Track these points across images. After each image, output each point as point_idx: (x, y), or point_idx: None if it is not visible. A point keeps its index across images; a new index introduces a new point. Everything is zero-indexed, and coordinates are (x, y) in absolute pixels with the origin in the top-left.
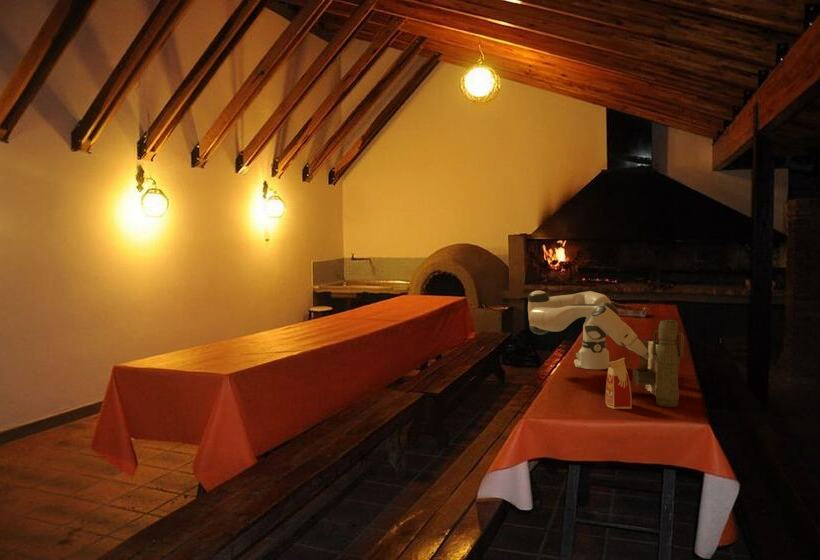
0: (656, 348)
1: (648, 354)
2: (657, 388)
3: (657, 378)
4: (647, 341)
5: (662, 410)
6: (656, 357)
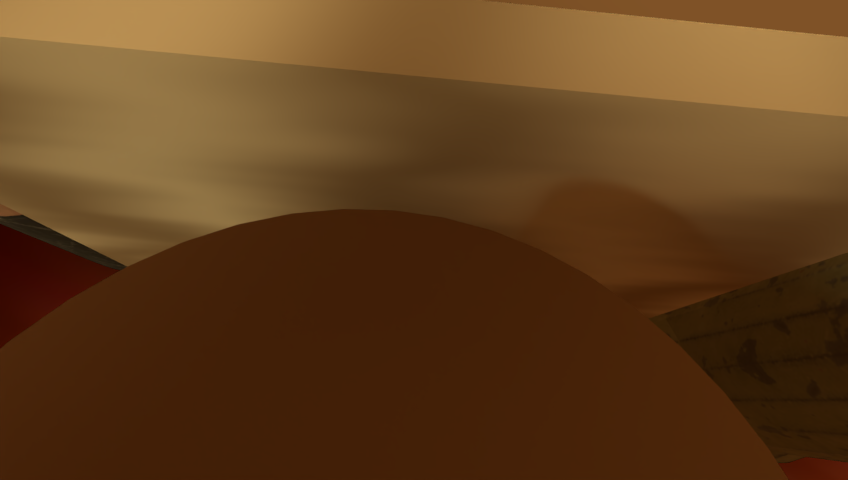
0: (698, 171)
1: (182, 241)
2: (780, 462)
3: (823, 454)
4: (622, 373)
5: (815, 475)
6: (582, 266)
